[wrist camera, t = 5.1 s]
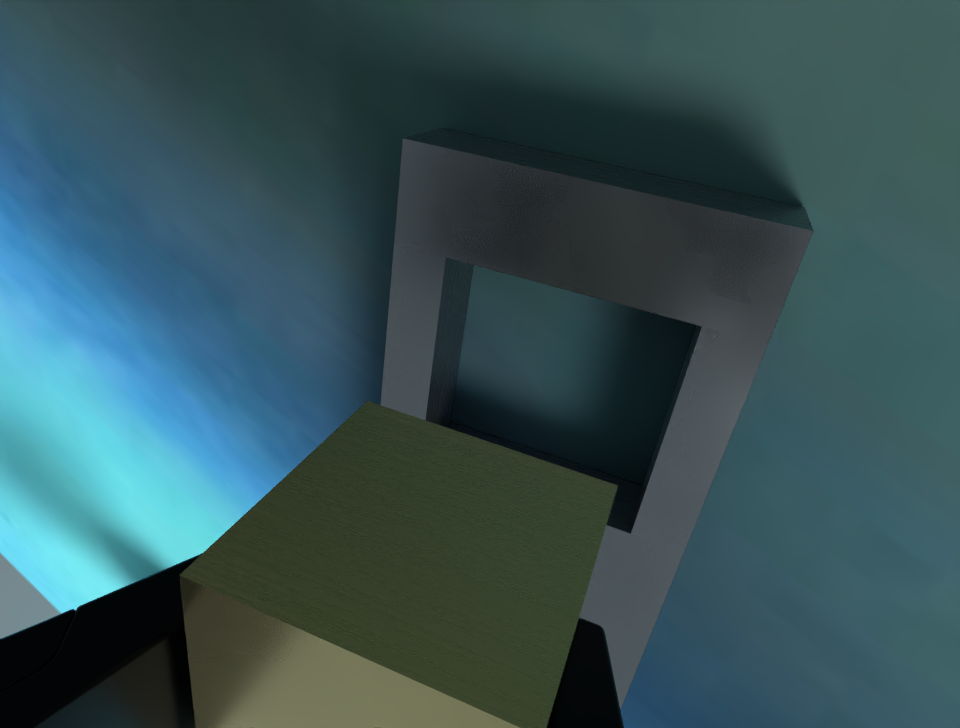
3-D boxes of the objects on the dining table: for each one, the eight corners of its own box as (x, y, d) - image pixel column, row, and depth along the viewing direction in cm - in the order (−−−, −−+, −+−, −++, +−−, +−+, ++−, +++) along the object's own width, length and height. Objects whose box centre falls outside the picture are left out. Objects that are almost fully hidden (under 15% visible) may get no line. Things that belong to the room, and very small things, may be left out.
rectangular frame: (585, 770, 23) (572, 828, 21) (380, 678, 25) (353, 724, 23) (804, 207, 13) (813, 231, 11) (441, 127, 15) (402, 138, 13)
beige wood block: (560, 667, 11) (480, 937, 8) (354, 581, 12) (201, 787, 9) (617, 485, 9) (543, 738, 6) (368, 400, 10) (179, 574, 7)
